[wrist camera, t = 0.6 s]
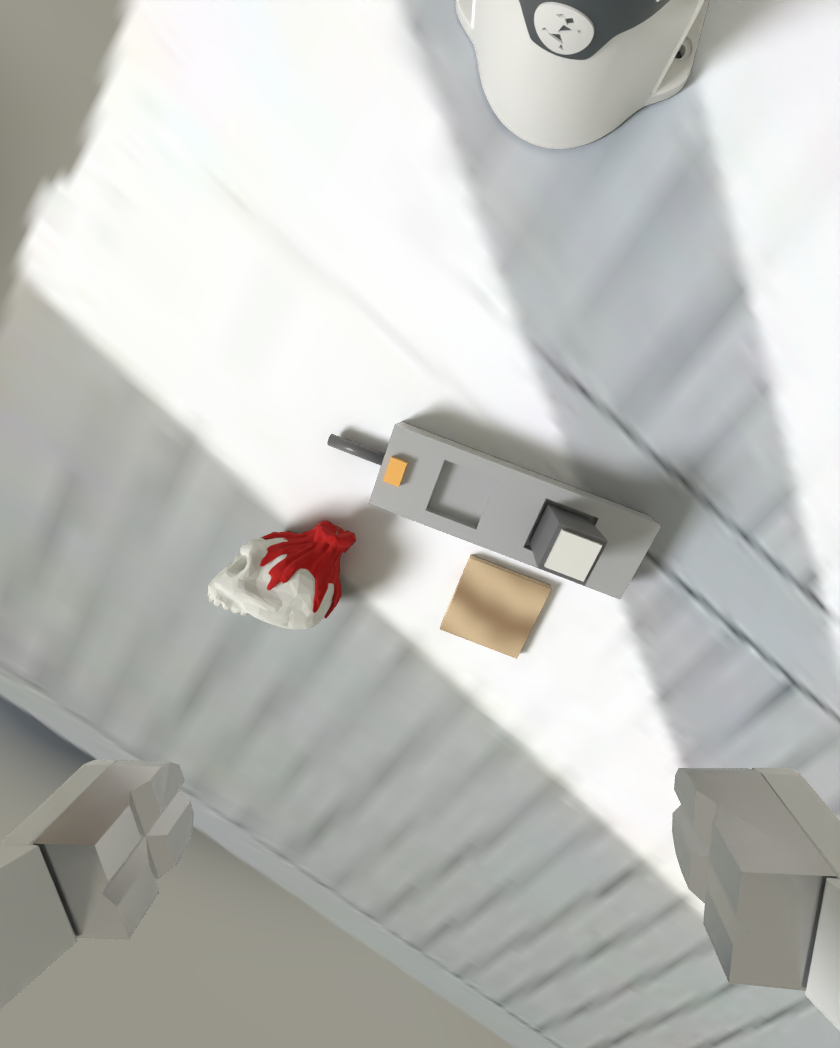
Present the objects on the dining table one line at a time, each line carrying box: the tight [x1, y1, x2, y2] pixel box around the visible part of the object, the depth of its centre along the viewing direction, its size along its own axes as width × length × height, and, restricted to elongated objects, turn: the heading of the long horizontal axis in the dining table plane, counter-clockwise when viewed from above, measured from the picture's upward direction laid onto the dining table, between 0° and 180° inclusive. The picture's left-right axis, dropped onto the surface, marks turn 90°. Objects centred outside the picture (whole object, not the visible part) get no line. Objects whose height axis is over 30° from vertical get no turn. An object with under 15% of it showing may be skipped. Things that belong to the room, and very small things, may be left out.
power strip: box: [328, 422, 661, 599], centre depth 45 cm, size 8×32×4 cm, turn 70°
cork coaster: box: [440, 555, 551, 659], centre depth 50 cm, size 9×9×1 cm
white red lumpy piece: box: [208, 521, 356, 629], centre depth 48 cm, size 9×11×15 cm
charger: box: [529, 502, 608, 586], centre depth 41 cm, size 4×4×7 cm
